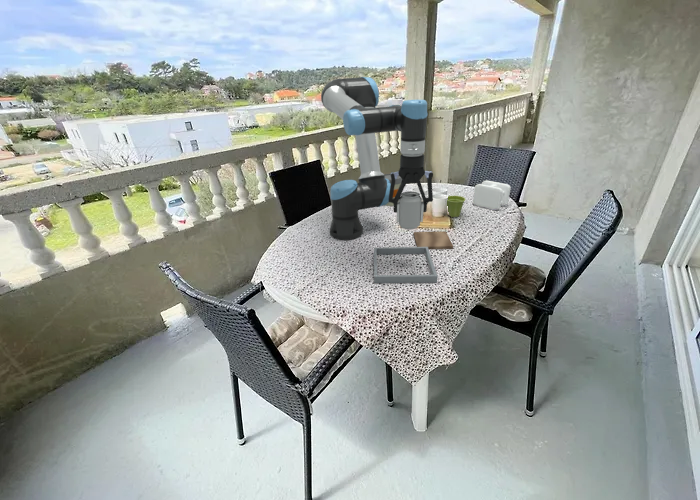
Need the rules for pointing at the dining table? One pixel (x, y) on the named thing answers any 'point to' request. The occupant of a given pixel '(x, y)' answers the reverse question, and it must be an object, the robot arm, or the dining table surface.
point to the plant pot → (455, 205)
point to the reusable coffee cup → (397, 185)
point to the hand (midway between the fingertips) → (409, 220)
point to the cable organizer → (491, 194)
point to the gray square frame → (405, 278)
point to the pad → (433, 240)
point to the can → (410, 210)
